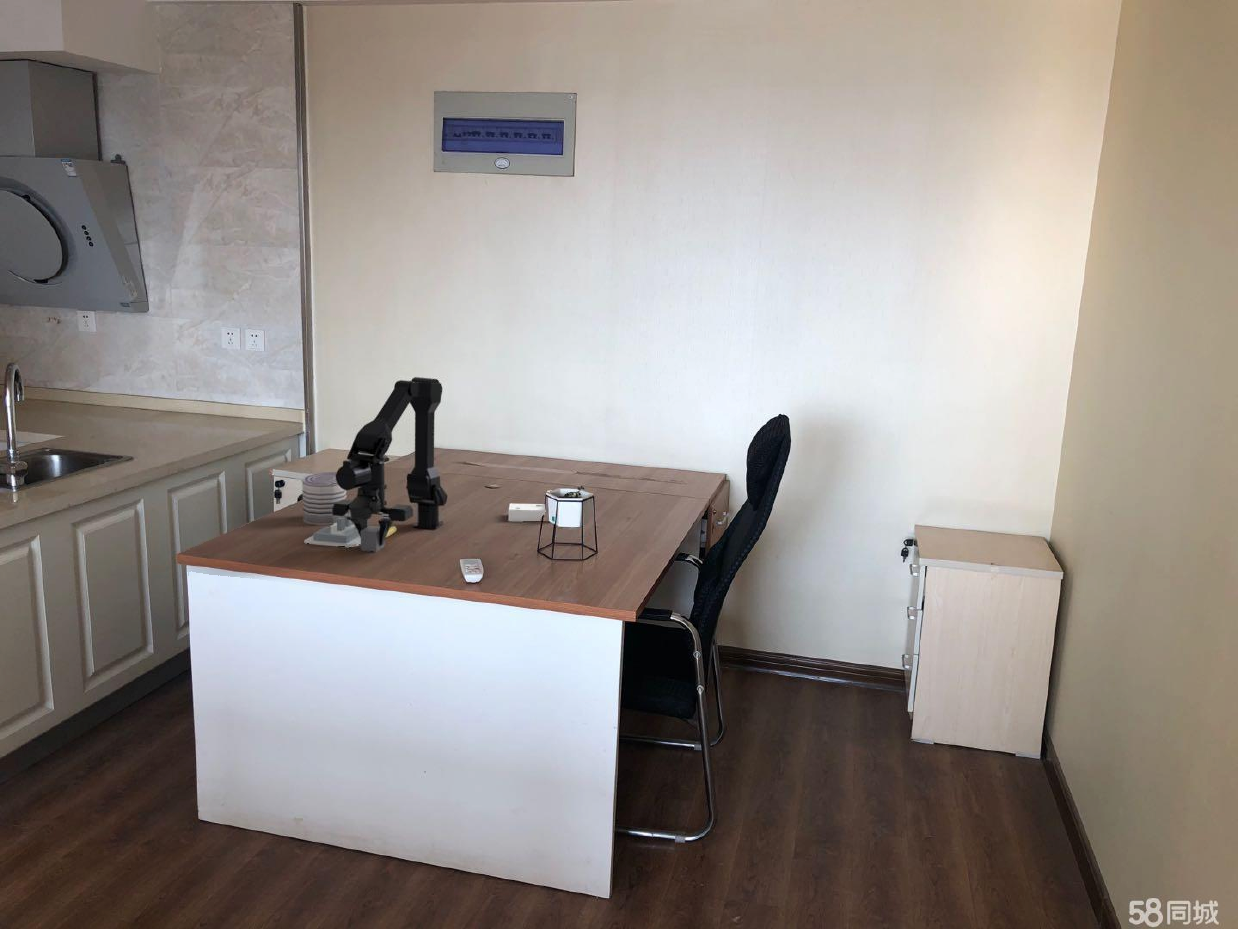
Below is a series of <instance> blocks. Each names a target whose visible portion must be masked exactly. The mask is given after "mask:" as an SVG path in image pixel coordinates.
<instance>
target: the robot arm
mask: <svg viewBox="0 0 1238 929" xmlns="http://www.w3.org/2000/svg"><path fill="white" fill-rule="evenodd" d="M442 394H443V386H442V383H441V382H440V380H438V378H431V377H430V378H429V377H420V376H415V377H413V378H412V379H411V380H402V379H400V380H397V381H396V382H395V383H394V387H393V390H392V392H391V393H390V394H389V396H388V398H387V399H386V401H385V402H384V404H383V406H382V407H381V408H380V410H379V412H378V413H377V415H376V417H374V419H373V420H371V421H369V422H367V423H366V424H364V425H363V426H362V427H361V429H360V430H359V431H358V432H357V433H356V435H355V437H354V440H353V443H352V445H351V447H350V450H349V451H348V454H347V456H346V459H345V460H343V461H342V465H341V466H340V467H339V468H338V469H337V471H336V472H337V474H336V481H337V484H338V485H339V486H340V487H341V488H342V489H344V490H346V491H351V490H353V489H357V494H356V496H355V497H354V498H353V500H352V499H346V500H341V501H339V502H337V503H335V504H334V505H333V507H332V515H335V516H344V515H345V514H346V513H347V514H348V517H347V520H351V521H352V524H353V525H355V526H356V528H357V530H358V532H359V535H360V538H361V530H363V529H364V528H366V527H367V519H369V520H370V519H371V518H372V515H381V517H382V518H381V519H379V520H378V524H379V527H380V536H379V542H380V546H382V545H383V543H384V541H385V542H386V538H387V537H386V536H387V533H388V531H389V529H390V527H392V526H393V523H394V522H406V521H407V520H409V519H411V518H412V517H414V509H413V507H412V506H411V505H410V504H417V508H416V511H417V514H416V515H417V516H416V518H417V519H416V521H417V522H415V523H414V524H413V525H412V528H416V529H417V528H420V529H430V530H436V529H438V528H440V527H441V526H442V525H443V524H444V521H442V520H440V506H441V507H443V506H444V507H445V505H446V504H447V502H448V501H447V500H448V494H447V492H445V490H444V489H443V487H442V485H441V477H440V475H439V472H438V471H437V470H436V467H435V414H436V413H435V412H436V411H437V409H438V407H439V406H440V404H441V402H442ZM409 404H410V406H411V407H412V409H413V411H414V467H413V469H412V471H411V472H410V473H407V475H406V487H405V489H406V491H407V494H408V500H409V503H410V504H401V503H399V504H398V503H397V504H395V505H393V506H392V507H385V506H387V505H388V502H387V500H385V494H386V492H385V491H386V490H387V489H388V488H387V484H385V483H386V482H385V476H386V475H385V463H387V462H389V461H390V458H389V457H388V456H387V455H386V454H387V452H388V451H389V448H390V446H391V444H392V442H393V435H392V434H393V430H394V428H395V427H396V425H397V424H398V422H399V420H400V418H402V415H403V414H404V412H405V410H407V408H408V406H409Z"/></svg>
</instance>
